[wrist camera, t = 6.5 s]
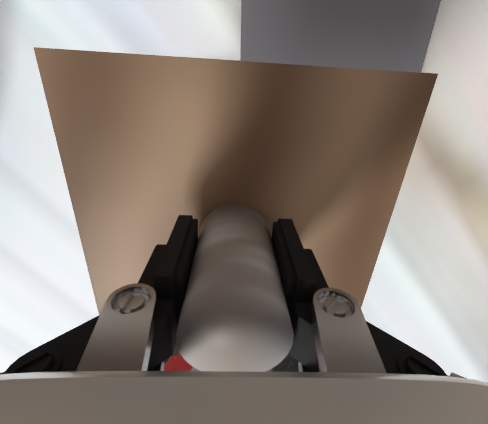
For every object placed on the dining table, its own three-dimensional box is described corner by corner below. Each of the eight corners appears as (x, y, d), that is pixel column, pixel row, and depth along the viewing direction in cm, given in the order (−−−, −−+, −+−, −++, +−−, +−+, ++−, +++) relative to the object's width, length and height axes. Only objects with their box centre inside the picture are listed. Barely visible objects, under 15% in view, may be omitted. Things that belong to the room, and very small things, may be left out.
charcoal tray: (444, -30, 21) (449, -33, 21) (390, 166, 28) (393, 168, 28) (242, -39, 21) (242, -43, 20) (238, 163, 28) (238, 165, 27)
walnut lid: (423, 74, 10) (658, 66, 5) (344, 330, 16) (403, 464, 11) (48, 50, 10) (-225, 4, 4) (110, 326, 16) (39, 467, 10)
